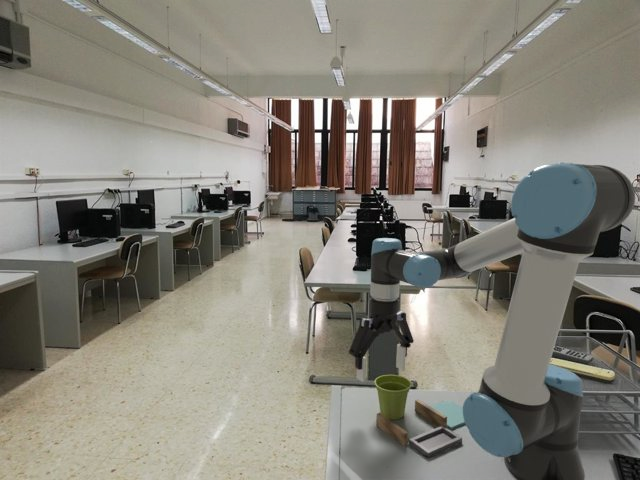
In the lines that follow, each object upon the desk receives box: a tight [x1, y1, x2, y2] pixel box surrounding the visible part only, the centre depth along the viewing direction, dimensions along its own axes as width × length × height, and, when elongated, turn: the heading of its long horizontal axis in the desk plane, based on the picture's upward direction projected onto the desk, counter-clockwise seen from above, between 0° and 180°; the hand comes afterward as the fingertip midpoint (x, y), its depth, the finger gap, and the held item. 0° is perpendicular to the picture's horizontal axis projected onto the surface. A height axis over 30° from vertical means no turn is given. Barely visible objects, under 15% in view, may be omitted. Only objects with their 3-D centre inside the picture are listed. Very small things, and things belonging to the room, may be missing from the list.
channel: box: [376, 399, 448, 447], centre depth 106 cm, size 10×14×3 cm
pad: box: [429, 401, 466, 431], centre depth 112 cm, size 10×10×1 cm
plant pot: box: [374, 374, 412, 421], centre depth 111 cm, size 9×9×9 cm
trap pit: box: [408, 425, 463, 459], centre depth 99 cm, size 6×11×1 cm, turn 122°
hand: (381, 374), depth 115 cm, fingers open, 13 cm apart
